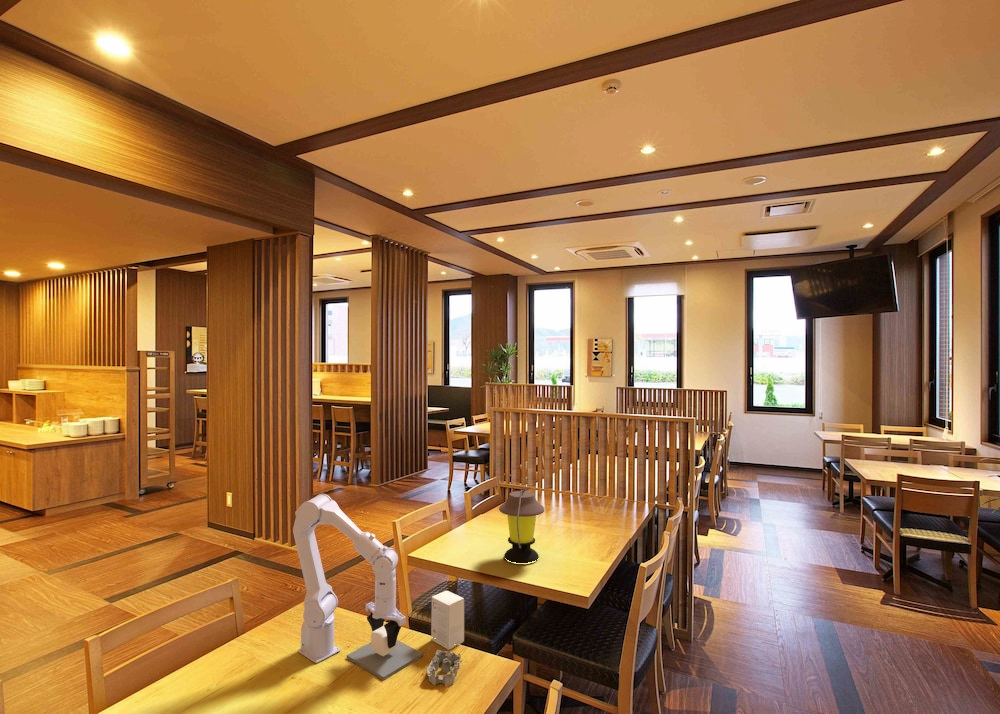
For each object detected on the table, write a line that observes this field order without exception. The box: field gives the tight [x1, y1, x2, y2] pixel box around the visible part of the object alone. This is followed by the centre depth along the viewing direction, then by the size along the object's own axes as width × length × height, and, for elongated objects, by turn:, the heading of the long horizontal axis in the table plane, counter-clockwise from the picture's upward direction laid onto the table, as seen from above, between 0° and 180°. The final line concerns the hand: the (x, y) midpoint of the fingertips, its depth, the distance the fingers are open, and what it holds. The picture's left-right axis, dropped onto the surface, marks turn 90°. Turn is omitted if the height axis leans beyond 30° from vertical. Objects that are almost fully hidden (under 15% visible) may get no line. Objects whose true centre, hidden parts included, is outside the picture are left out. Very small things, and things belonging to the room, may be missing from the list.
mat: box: [346, 639, 424, 681], centre depth 144 cm, size 16×14×1 cm
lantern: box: [498, 484, 545, 563], centre depth 217 cm, size 25×19×30 cm
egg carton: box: [426, 649, 462, 687], centre depth 137 cm, size 11×8×4 cm
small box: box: [430, 590, 465, 651], centre depth 153 cm, size 8×6×13 cm
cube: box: [370, 625, 398, 656], centre depth 144 cm, size 5×5×5 cm
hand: (385, 643), depth 144 cm, fingers closed on cube, 5 cm apart
